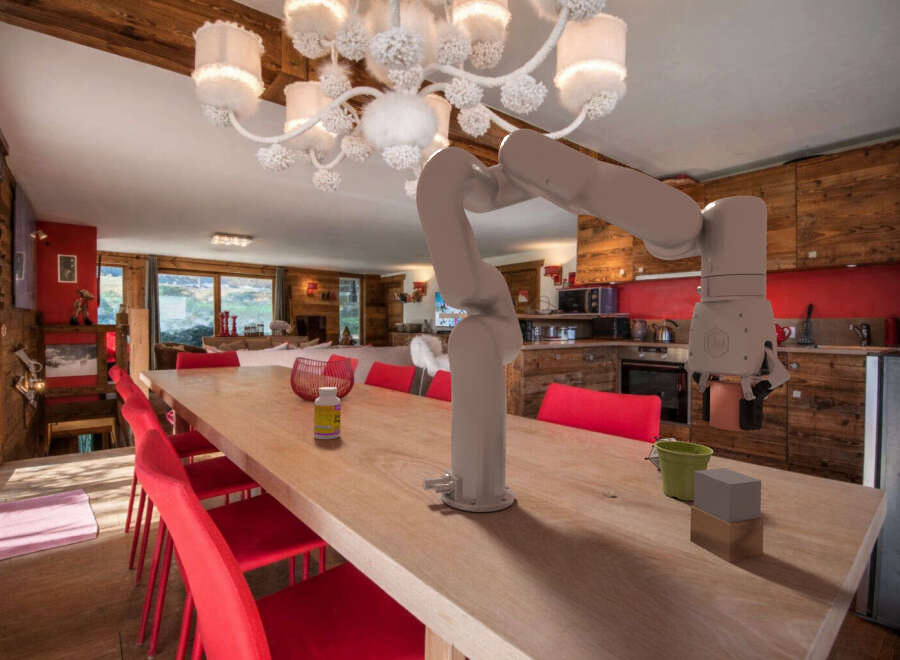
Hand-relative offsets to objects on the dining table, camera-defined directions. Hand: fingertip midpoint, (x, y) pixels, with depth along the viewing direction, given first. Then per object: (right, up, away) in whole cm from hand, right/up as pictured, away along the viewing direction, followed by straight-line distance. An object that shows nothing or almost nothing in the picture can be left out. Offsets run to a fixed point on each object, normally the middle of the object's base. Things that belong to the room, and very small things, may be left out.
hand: (730, 423), depth 61 cm
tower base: (-1, -17, 0) cm, 17 cm away
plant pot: (+4, -17, +20) cm, 26 cm away
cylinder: (0, 0, 0) cm, 0 cm away
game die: (+6, -17, +30) cm, 35 cm away
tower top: (0, -12, 0) cm, 12 cm away
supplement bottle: (-70, -16, +57) cm, 92 cm away
